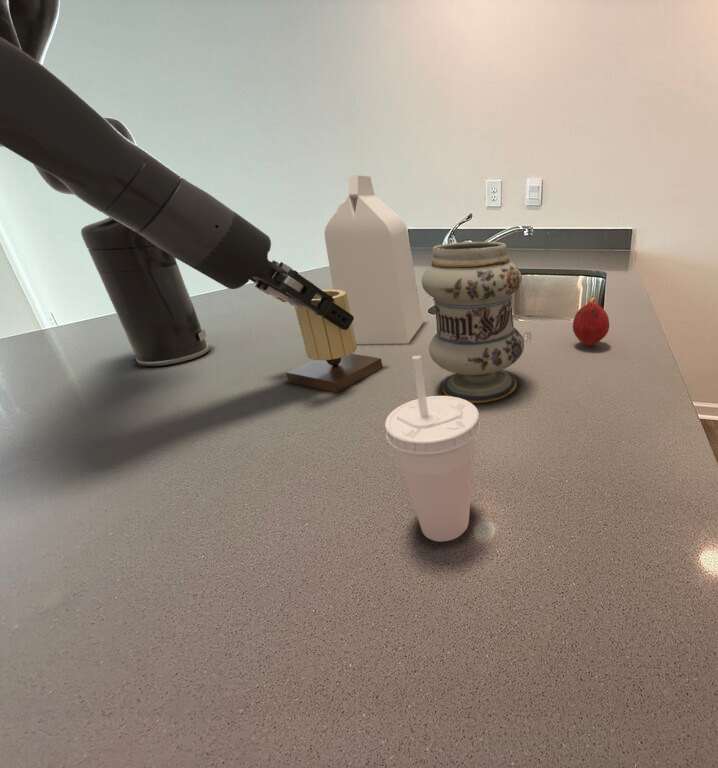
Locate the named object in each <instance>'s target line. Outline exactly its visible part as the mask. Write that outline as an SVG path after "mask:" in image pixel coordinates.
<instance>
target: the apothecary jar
mask: <svg viewBox="0 0 718 768" xmlns="http://www.w3.org/2000/svg"><path fill="white" fill-rule="evenodd" d="M522 280H523V277H522V272H521V271H520V269H519V267H518V266H517V265H516V264H515V263H513V262H512V261H510V257H509V255H508V249H507V245H506V243H504V242H499V241H498V242H497V241H466V242H465V241H464V242H453V243H444V244H438V245H435V246H433V247H432V258H431V265H429V266H428V267H427V268H426V269H425V270H424V271H423V274H422V276H421V287H422V289H423V290H424V293H426V294H427V295H428V296H430V297H431V298H433V302H434V310H435V311H434V312H435V320H436V333H435V334H434V335H433V337H432V338H431V340H430V342H429V345H428V353H429V356H430V358H431V360H432V361H433V362H434V363H435V364H436V365H437V366H439V367H440V368H442V369H443V370H445V371H448V372H449V373H453V374H451V375H449V376H447V378H445V380H444V381H443V383H442V387H441V388H442V392H443V394H444V396H452V397H457V398H461V399H464V400H466V401H468V402H470V403H472V404H483V403H488V402H490V403H491V402H495V401H499V400H501V399H503V398H506V397H508V396H509V395H510V394H512V393H513V392H514V391H515V390H516V388H517V378H515V376H514V375H513V374H511V373H510V372H508V371H506V370H505V369H507V368H509V367H511V366H512V365H513V364H515V363H516V362H517V361H518V360H519V359H520V358H521V356H522V355H523V353H524V350H525V341H524V337H523V336H522V334H521V332H520V331H519V330H518V329H517V328H515V325H514V316H513V315H514V314H513V295H514V293H515V292H517V291H518V290H519V289H520V288H521V285H522Z"/></svg>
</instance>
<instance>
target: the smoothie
mask: <svg viewBox="0 0 718 768" xmlns="http://www.w3.org/2000/svg"><path fill="white" fill-rule="evenodd" d="M411 359H412V367H413V374H414V381H415V388H416V396H417V398H416V399H413V400H410V401H407V402H405V403H403V404H401V405H399V406H398V407H396V408H395V409H393V410H392V411H391V412H390V413H389V414H388V416H387V417H386V419H385V422H384V428H385V432H386V433H385V437H386V441H387V442H388V444H389V445H390V446H392V447H393V448H394V451H395V454H396V457H397V460H398V463H399V465H400V468H401V471H402V474H403V477H404V481H405V483H406V486H407V490H408V492H409V496H410V499H411V502H412V505H413V508H414V511H415V514H416V517H417V520H418V523H419V526H420V530H421V532H422V534H423V535H424V537H426V538H427V539H429V540H431V541H434V542H450V541H452V540H455V539H457V538H459V537H461V536H462V535H463V534H464V533H465V532H466V530H467V529H468V527H469V524H470V511H471V497H472V484H473V483H472V482H473V470H474V469H473V468H474V456H475V445H476V436H477V435H478V434H479V433H480V429H481V422H480V414H479V410H478V408H477V407H476V406H475V404H474V403H470V402H468V401H466V400H464V399H461V398H457V397H452V396H446V395H431V396H427V394H426V393H427V392H426V383H425V377H424V370H423V369H424V368H423V361H422V356H421V355H413V356H412V358H411Z"/></svg>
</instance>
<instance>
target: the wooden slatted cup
mask: <svg viewBox="0 0 718 768" xmlns="http://www.w3.org/2000/svg"><path fill="white" fill-rule="evenodd" d="M321 290H322V291H324V292H325V293H326V294H328V295H331V296H332V298H334V299H335V300H334V301H333V303H335V304H336V305H338V306H339V307H341V308H342V309H344V310H345V311H347V312H348V313H350V309H349V304H348V299H347V294H346V292H345V291H342V290H333V289H321ZM320 299H321V298H319V297H318V296H316V295H315V296H314V297H313V299H312V300H311V303H312V304H313V305H315V306H316V305H317V304H318V302H319V301H320ZM293 300H294V299H293ZM295 300H296V299H295ZM294 310H295V314H296V318H297V322H298V326H299V330H300V334H301V337H302V342H303V346H304V350H305V354H306V356H307V358H308V359H310V360H332V359H337V358H342V357H345V356H348V355H350V354H355V352H356V351H357V349H358V346H357V345H358V344H356V340H355V335H354V330H353V325H352V323H351V325H350V326H349V328H348V329H347V330H343V329H341V328H339V327H338V326H336V325H335V324H333V323H331V322H330V321H328V320H327V319H325V318H323V317H321V316H317V315H316V314H315V313H314V312H312V311H311V310H309V309H307V308H305V307H303V308H297V307H295V306H294Z"/></svg>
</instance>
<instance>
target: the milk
mask: <svg viewBox="0 0 718 768" xmlns="http://www.w3.org/2000/svg"><path fill="white" fill-rule="evenodd" d="M324 242H325V246H326V247H325V248H326V255H327V260H328V267H329V272H330V279H331V284H332V290H342V291H345V292H346V294H347V299H348V304H349V309H350V314H351V315H353V317H354V320H353V322H352V325H353V330H354V335H355V340H356V345H397V344H398V345H401V344H402V345H403V344H405V345H406V344H410V342H411V341H412V339H413V338H414V337H415V335H416V334H417V332H418V331H419V330H420V328H421V327H422V325H423V324H424V319H423V314H422V308H421V301H420V297H419V290H418V284H417V278H416V272H415V266H414V260H413V255H412V249H411V242H410V237H409V232H408V227H407V225H406V223H405V221H404V220H403V218H402V217H401V216H400V215H398V213H396V212H395V211H394V210H393V209H392V208H390V207H389V206H388V205H387V204H386V203H385V202H383V201H382V199H380V198H379V197H378V196H377V195H376V193H375V190H374V186H373V182H372V177H371V176H368V175H348V196H347V197H346V198H345V199H344V200H343V201H342V202H341V203H340V204H339V205H338V208H337V210H336V211H335V213H334V214H333V215H332V217H331V218H330V219H329V220H328V222H327V224H326V226H325V227H324Z"/></svg>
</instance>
